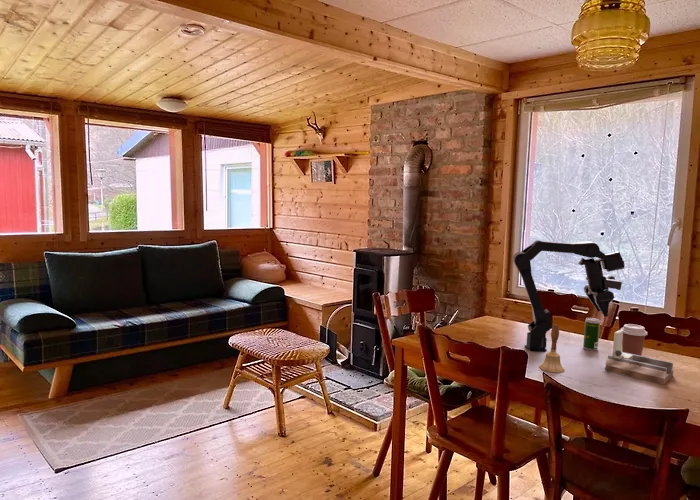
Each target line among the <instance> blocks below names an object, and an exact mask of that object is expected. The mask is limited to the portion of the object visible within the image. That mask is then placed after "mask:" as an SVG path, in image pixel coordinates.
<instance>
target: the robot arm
mask: <svg viewBox="0 0 700 500" xmlns="http://www.w3.org/2000/svg"><path fill="white" fill-rule="evenodd" d="M541 252H552V253H563V254H565V253H566V254H575V255H578V256H581V258H580V261H578V265H580V266H584V270H585V273H586V274H585V275H586V277H585V280H586V281H587V283H588V284H587V285H585V286H584V287H583V291H584V294H585V295H586V296H587V298H588V300H590V303H592V305H593V306H594V308H595V309H596V311H597V312H601V313H602V315H603V317H604V318H606V317H608V316H609V307H610V303H611V302H612V301H613V300H614V299H615V294H614V292H613V291H611V290H610V289H613V290H618V291H621V289H622V284H623V281H621V280H618V279H616V278H615V276H612V275H609V276H608V277H606V276H605V275H604V271H603V270H605V271H607V272H609V273H610V272H614V271H620V270H624V269H625V261H624V260H623V257H622V255H621V252H620V251H615V252H610V253H606V254H605V252H603V251H601V250H600V246H599V245H598V244H597V243H595V242H593V241H588V240H587V241H579V242H562V241H561V242H560V241H559V242H558V241H557V242H556V241H548V240H547V241H546V240H545V241H544V240H538V239H537V240H535V241H534V242H533V243H532V244H530V245H529V246H527V247H525V248H524V249H523V250H522V251H517V252H515V253H514V254H513V256H512V262H513V263H514V266H515V267H516V269H517V272H518V273H519V274H520V277H521V280H522V282H523V285H524V288H525V291H526V294H527V297H528V300H529V303H530V305H531V308H532V311H531V312H532V320H533V321H531V322H530V323H529V324H528V325H527V328H528V331H529V332H527V333H526V335H527V336H526V344H524V348H526V349H528V350H529V351H530V352H546V351H548V350H547V337H546V336H547V333H548V332H549V331H550V330H552V328H553V326H552V323H553V322H554V321H553V320H552V318H551V314H550V313H551V312H550V311H549V310H548V308H544V307H543V305H542V301H541V299H540V295H539V293H538V292H539V291H538V290H537V287H536V284H535V280H534V278H533V275H532V264H531V261H533V260H534V259H535V257H536V256H538V254H540V253H541ZM584 257H586V258H587V259H586V258H584ZM595 258H598V259H595Z"/></svg>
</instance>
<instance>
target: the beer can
mask: <svg viewBox="0 0 700 500" xmlns="http://www.w3.org/2000/svg"><path fill="white" fill-rule="evenodd" d="M600 326H601V322H600V319H598V318H595V317H586V318H585V321H584V333H583V334H584V335H583V344H582V345H583V346H582V347H583V348H584V349H585V350H587V351H598V349H599V340H600V330H601V329H600Z"/></svg>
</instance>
